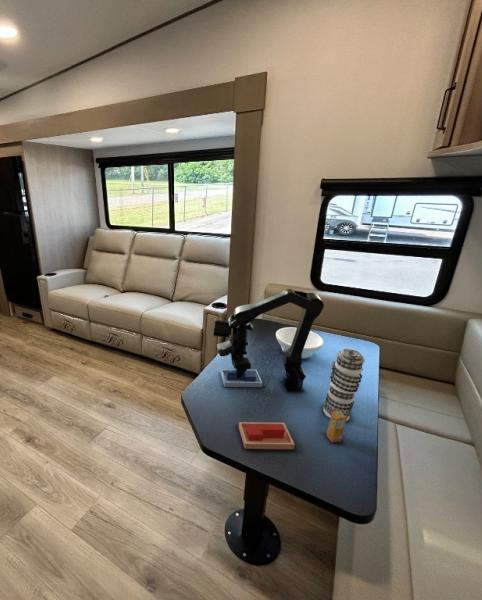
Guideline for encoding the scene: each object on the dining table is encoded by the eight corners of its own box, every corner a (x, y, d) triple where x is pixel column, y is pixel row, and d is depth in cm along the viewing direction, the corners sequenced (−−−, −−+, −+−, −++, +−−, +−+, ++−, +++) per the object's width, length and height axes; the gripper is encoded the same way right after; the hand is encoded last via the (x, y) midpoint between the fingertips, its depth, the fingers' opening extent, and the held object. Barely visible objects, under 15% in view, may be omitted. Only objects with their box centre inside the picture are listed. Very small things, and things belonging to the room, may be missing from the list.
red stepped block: (280, 432, 104) (282, 423, 102) (284, 441, 100) (286, 432, 99) (246, 431, 104) (247, 423, 103) (248, 440, 100) (250, 431, 99)
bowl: (323, 348, 155) (326, 333, 152) (317, 369, 139) (320, 353, 136) (279, 337, 166) (281, 323, 163) (268, 355, 149) (270, 340, 146)
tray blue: (255, 373, 135) (256, 369, 135) (262, 387, 127) (262, 382, 126) (220, 373, 136) (220, 369, 135) (224, 386, 127) (224, 382, 126)
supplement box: (325, 435, 103) (331, 410, 100) (335, 434, 104) (341, 410, 100) (331, 443, 100) (337, 418, 97) (341, 442, 101) (348, 417, 97)
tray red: (283, 427, 106) (284, 422, 106) (293, 449, 98) (294, 444, 97) (238, 426, 107) (239, 422, 106) (244, 448, 98) (245, 443, 97)
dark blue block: (227, 381, 129) (228, 374, 128) (226, 376, 133) (226, 368, 131) (255, 381, 129) (256, 374, 128) (253, 376, 133) (254, 369, 131)
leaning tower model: (321, 401, 119) (335, 343, 110) (349, 408, 115) (366, 349, 106) (321, 417, 111) (336, 355, 102) (351, 425, 107) (369, 362, 98)
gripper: (215, 327, 133) (213, 358, 138) (223, 349, 115) (220, 385, 121) (242, 327, 133) (238, 359, 138) (253, 350, 115) (249, 385, 121)
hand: (236, 371), depth 130 cm, fingers open, 9 cm apart
